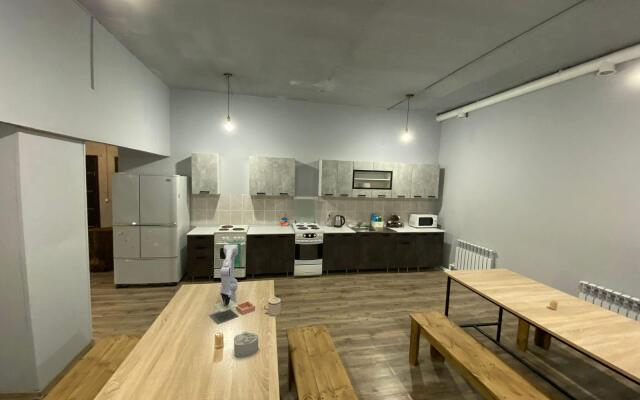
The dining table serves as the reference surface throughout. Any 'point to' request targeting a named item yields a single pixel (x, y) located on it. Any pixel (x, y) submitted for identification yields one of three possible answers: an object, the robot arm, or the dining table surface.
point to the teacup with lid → (273, 306)
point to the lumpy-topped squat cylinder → (245, 344)
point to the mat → (223, 316)
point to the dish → (245, 308)
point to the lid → (225, 306)
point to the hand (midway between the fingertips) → (226, 303)
